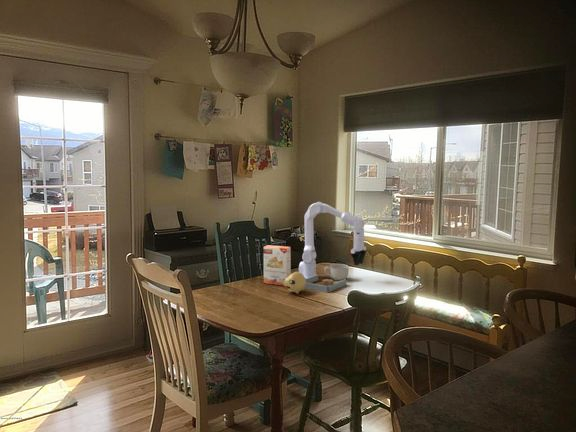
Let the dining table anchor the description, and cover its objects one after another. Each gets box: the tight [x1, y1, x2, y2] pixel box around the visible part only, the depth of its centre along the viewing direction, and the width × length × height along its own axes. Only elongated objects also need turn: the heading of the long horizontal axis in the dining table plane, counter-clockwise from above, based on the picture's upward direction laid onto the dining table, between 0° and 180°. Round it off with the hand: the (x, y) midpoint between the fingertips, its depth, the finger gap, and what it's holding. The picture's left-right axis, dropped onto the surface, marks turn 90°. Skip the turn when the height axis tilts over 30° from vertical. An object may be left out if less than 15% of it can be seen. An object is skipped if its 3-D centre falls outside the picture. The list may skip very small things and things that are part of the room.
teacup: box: [323, 263, 349, 281], centre depth 262 cm, size 14×11×8 cm
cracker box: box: [263, 244, 292, 287], centre depth 251 cm, size 14×6×21 cm, turn 68°
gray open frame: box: [305, 274, 347, 293], centre depth 247 cm, size 19×19×3 cm
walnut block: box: [322, 278, 334, 286], centre depth 240 cm, size 4×4×5 cm
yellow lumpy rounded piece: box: [283, 271, 306, 295], centre depth 234 cm, size 10×12×11 cm
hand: (358, 264), depth 257 cm, fingers open, 4 cm apart
